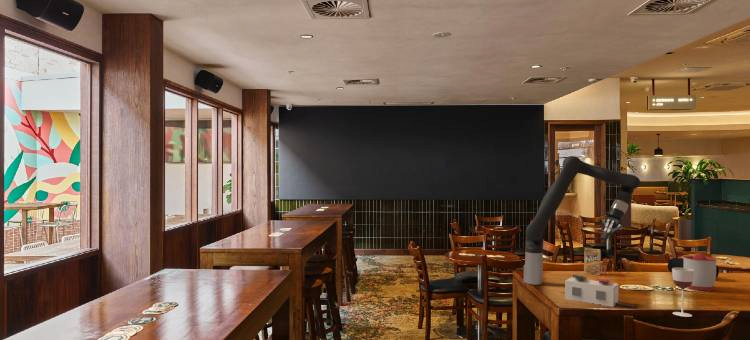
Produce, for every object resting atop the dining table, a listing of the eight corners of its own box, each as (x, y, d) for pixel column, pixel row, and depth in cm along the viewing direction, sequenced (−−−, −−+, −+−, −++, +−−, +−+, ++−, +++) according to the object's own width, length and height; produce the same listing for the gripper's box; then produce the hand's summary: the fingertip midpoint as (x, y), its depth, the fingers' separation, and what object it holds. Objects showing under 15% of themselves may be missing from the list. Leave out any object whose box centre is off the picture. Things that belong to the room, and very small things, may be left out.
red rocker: (596, 282, 246) (596, 277, 247) (601, 283, 253) (601, 278, 254) (605, 283, 244) (605, 279, 244) (610, 284, 251) (610, 280, 251)
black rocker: (572, 278, 253) (573, 274, 253) (578, 280, 260) (578, 276, 260) (581, 280, 250) (581, 275, 251) (586, 281, 257) (586, 277, 258)
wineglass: (667, 311, 234) (668, 267, 234) (685, 311, 235) (686, 267, 235) (678, 316, 226) (679, 270, 226) (697, 316, 227) (698, 270, 227)
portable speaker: (666, 273, 324) (666, 257, 324) (674, 272, 329) (674, 256, 329) (711, 281, 303) (712, 264, 303) (719, 279, 308) (719, 262, 308)
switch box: (564, 299, 255) (564, 280, 254) (571, 295, 263) (571, 277, 263) (631, 310, 236) (632, 290, 236) (636, 305, 245) (636, 286, 245)
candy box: (583, 273, 319) (584, 248, 319) (585, 272, 323) (585, 247, 323) (599, 275, 315) (599, 250, 315) (600, 274, 318) (600, 249, 318)
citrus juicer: (714, 287, 287) (715, 251, 287) (718, 293, 272) (718, 255, 272) (681, 283, 294) (682, 248, 294) (683, 289, 279) (683, 252, 279)
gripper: (603, 204, 279) (589, 232, 277) (627, 210, 268) (612, 240, 266) (609, 209, 283) (595, 237, 281) (632, 216, 272) (618, 245, 270)
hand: (603, 239), depth 273 cm, fingers closed
